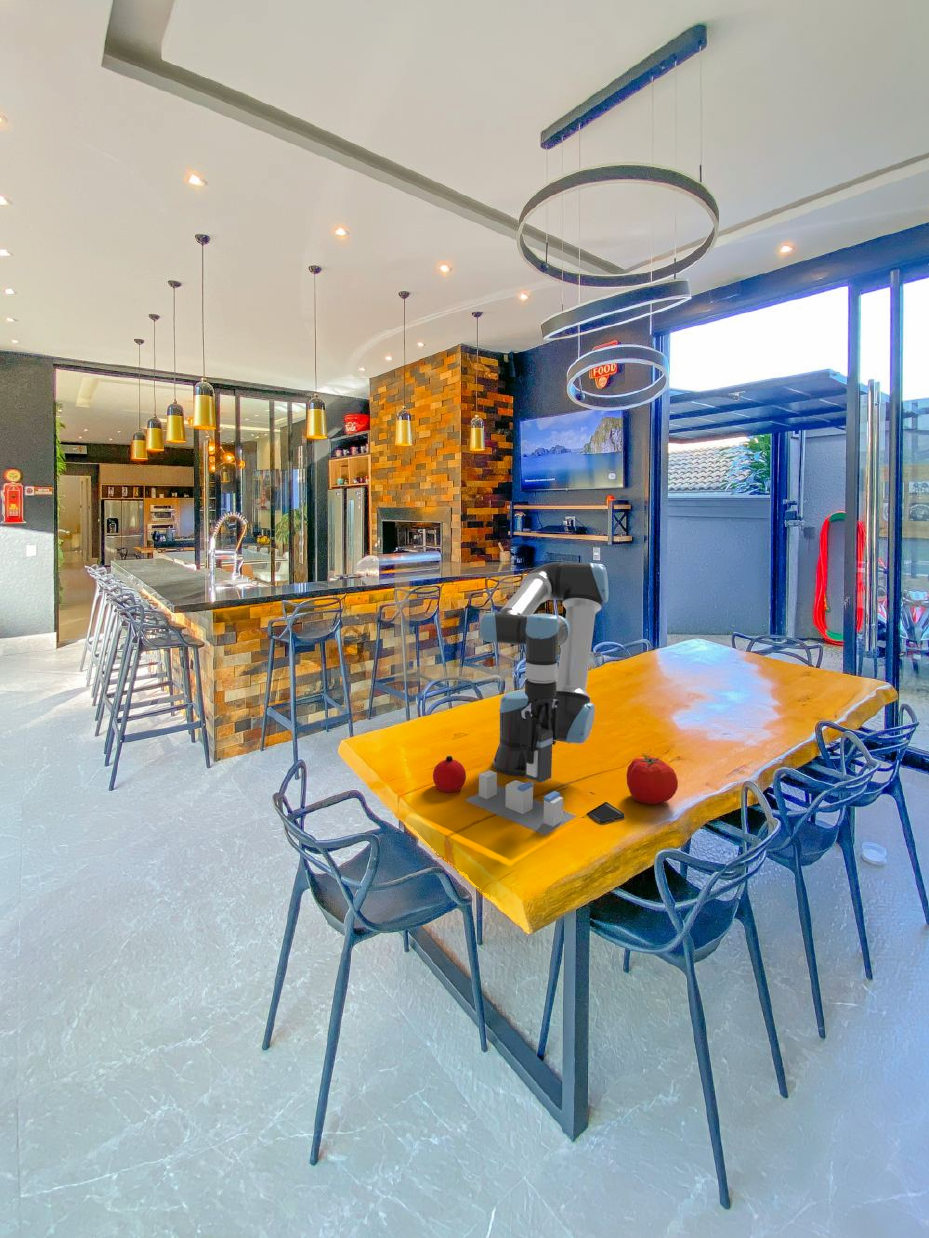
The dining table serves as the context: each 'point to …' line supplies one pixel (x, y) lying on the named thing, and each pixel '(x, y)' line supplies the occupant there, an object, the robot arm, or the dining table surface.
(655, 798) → the tomato
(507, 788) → the grey plate with blocks
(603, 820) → the phone
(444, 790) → the ornament
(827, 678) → the dining table surface
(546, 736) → the plug
